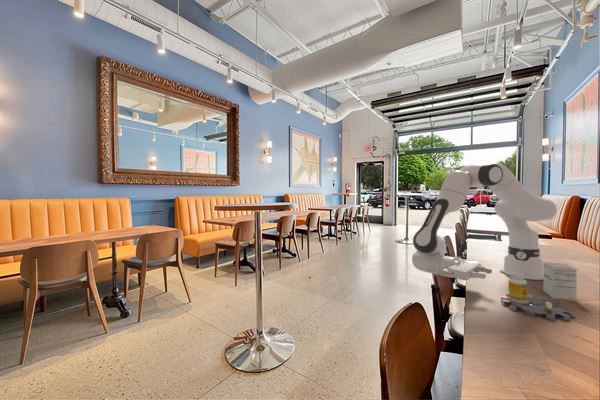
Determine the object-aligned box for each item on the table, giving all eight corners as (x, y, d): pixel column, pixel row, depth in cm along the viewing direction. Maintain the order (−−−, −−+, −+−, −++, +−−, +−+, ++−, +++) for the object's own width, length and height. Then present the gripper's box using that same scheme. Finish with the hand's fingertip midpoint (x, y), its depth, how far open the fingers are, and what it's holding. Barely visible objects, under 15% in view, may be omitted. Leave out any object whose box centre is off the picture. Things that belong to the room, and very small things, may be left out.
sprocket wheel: (506, 293, 105) (506, 282, 104) (574, 308, 90) (574, 295, 90) (495, 307, 92) (495, 294, 92) (572, 326, 78) (572, 312, 78)
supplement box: (542, 291, 106) (542, 261, 106) (566, 294, 103) (566, 263, 103) (552, 298, 99) (552, 266, 99) (577, 301, 96) (577, 268, 96)
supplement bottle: (511, 295, 98) (511, 270, 98) (529, 299, 94) (529, 274, 94) (506, 298, 95) (506, 273, 95) (524, 303, 91) (524, 276, 91)
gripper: (441, 264, 105) (481, 271, 94) (458, 256, 118) (494, 261, 108) (441, 279, 105) (481, 287, 94) (458, 269, 118) (494, 276, 108)
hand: (488, 273), depth 101 cm, fingers open, 8 cm apart
